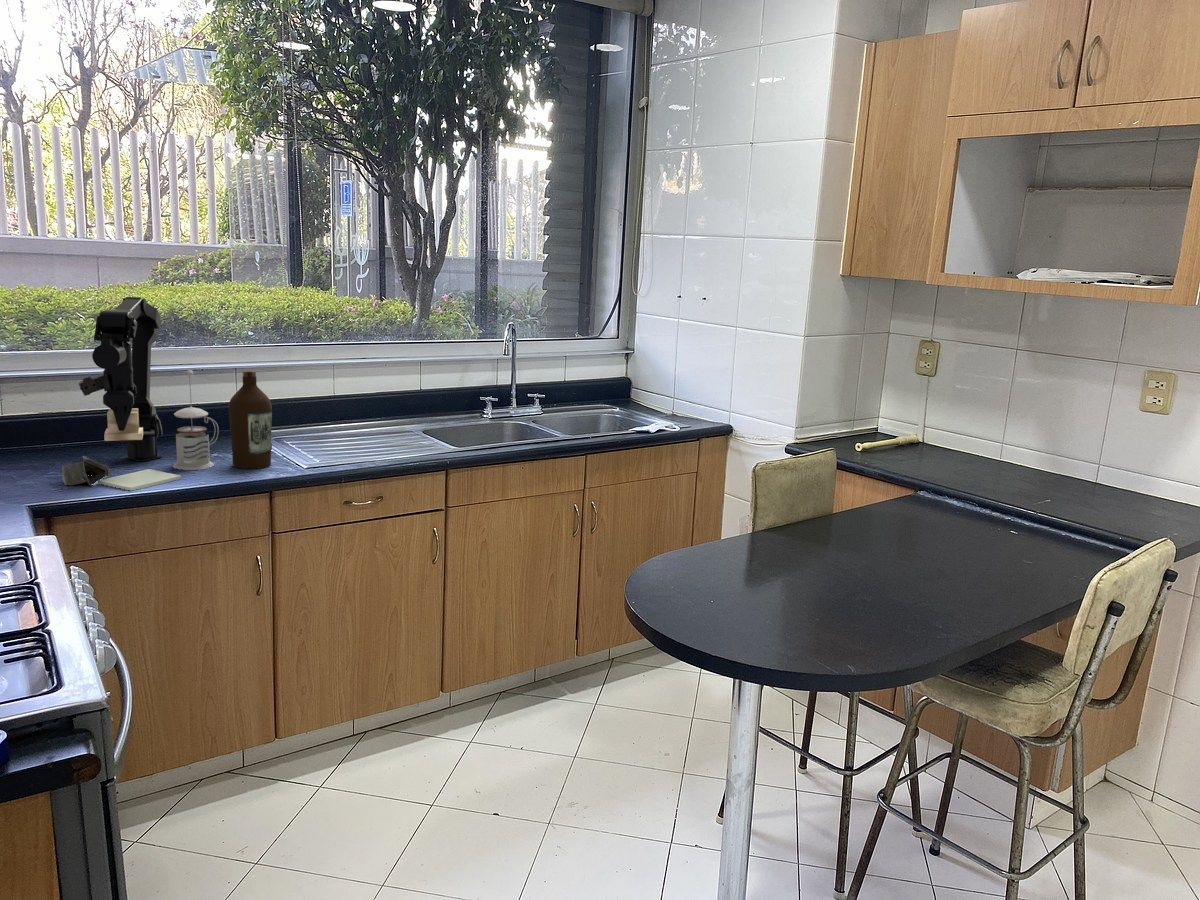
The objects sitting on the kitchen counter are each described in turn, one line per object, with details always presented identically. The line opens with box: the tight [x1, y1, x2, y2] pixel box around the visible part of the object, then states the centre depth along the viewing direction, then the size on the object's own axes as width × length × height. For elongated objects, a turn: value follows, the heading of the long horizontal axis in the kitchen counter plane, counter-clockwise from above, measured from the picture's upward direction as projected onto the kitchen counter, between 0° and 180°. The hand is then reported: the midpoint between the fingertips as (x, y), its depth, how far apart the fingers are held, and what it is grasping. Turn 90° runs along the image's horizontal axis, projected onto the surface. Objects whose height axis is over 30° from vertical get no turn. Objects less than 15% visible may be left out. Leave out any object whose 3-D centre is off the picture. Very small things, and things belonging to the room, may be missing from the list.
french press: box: [172, 369, 220, 471], centre depth 231 cm, size 10×12×25 cm
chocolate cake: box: [61, 455, 111, 487], centre depth 212 cm, size 10×7×12 cm
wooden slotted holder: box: [103, 408, 143, 442], centre depth 217 cm, size 8×8×6 cm
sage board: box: [98, 468, 182, 492], centre depth 215 cm, size 14×11×1 cm
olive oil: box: [228, 369, 273, 470], centre depth 234 cm, size 11×11×25 cm
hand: (122, 428), depth 217 cm, fingers closed on wooden slotted holder, 6 cm apart
